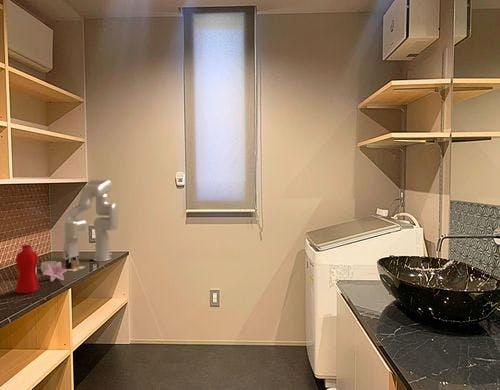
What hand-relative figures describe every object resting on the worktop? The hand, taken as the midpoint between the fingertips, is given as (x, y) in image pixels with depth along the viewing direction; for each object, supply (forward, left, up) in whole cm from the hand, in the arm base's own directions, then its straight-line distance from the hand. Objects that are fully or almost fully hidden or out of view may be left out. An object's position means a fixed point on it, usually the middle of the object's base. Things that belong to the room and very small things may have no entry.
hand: (71, 267), depth 261 cm
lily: (+23, +6, -2) cm, 24 cm away
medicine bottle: (+22, -14, -2) cm, 26 cm away
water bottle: (+48, +10, -2) cm, 49 cm away
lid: (0, 0, -1) cm, 1 cm away
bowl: (+6, -12, -2) cm, 13 cm away
